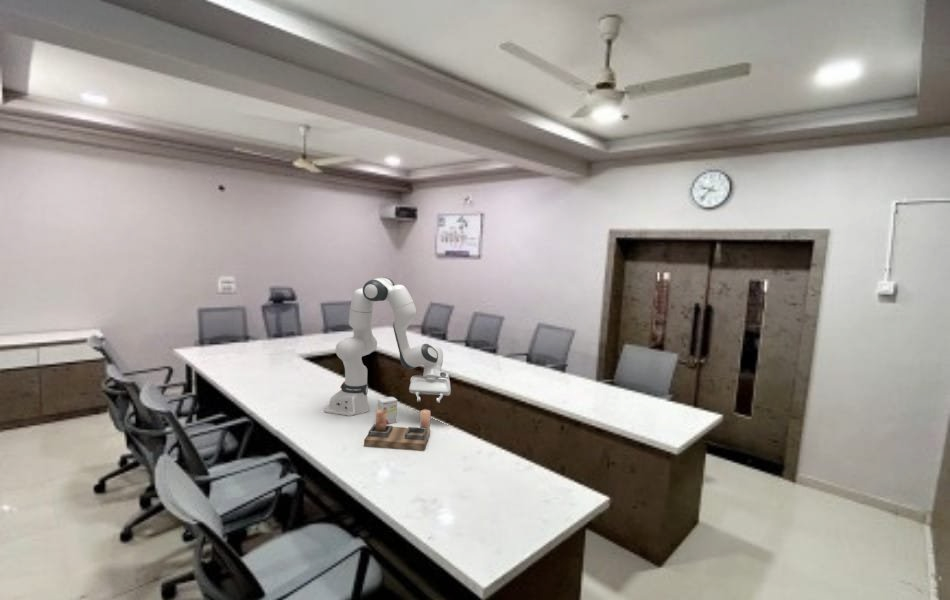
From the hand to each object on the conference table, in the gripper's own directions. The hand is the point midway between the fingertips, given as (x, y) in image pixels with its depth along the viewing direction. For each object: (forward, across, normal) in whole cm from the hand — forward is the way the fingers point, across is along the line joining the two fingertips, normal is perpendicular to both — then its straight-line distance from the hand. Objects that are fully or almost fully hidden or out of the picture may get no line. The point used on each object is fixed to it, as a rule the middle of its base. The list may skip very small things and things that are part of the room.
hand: (428, 401), depth 217 cm
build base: (+22, -10, -4) cm, 24 cm away
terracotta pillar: (+13, 0, +4) cm, 14 cm away
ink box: (+8, -20, +10) cm, 24 cm away
